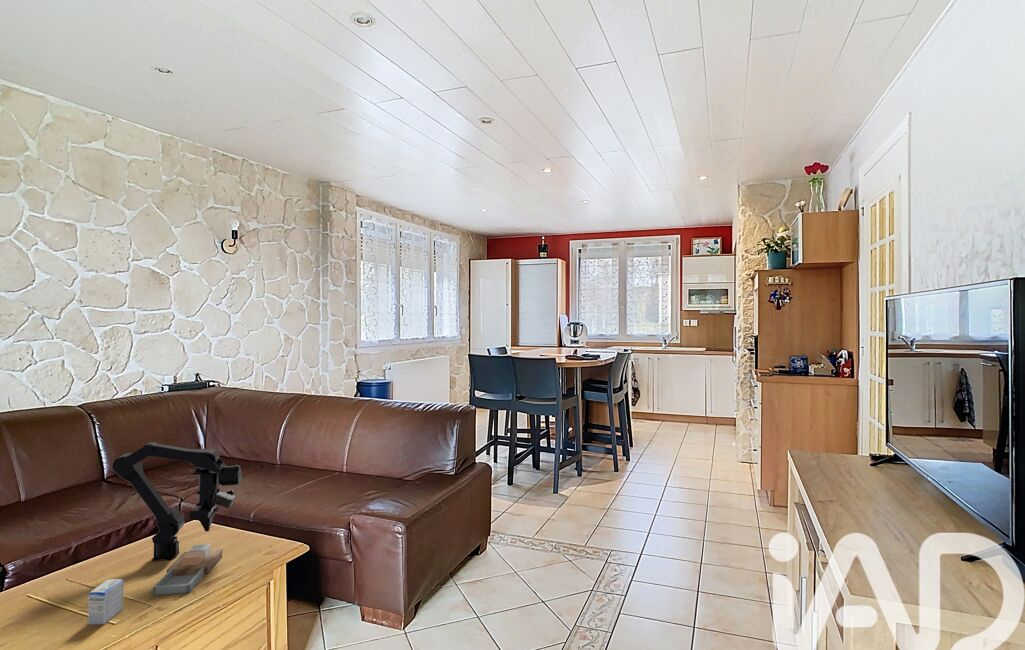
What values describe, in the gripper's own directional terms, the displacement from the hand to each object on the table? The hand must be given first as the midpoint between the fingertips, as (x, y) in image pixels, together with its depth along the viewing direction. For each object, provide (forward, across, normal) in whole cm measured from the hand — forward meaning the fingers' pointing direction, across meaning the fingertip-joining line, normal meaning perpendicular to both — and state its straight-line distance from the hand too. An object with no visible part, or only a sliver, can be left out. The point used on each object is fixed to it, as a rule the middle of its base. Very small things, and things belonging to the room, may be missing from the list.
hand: (207, 531), depth 195 cm
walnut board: (+8, -11, 0) cm, 13 cm away
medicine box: (+8, -41, +12) cm, 43 cm away
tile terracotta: (+5, -13, 0) cm, 14 cm away
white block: (+5, -8, 0) cm, 9 cm away
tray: (+8, -24, 0) cm, 25 cm away
